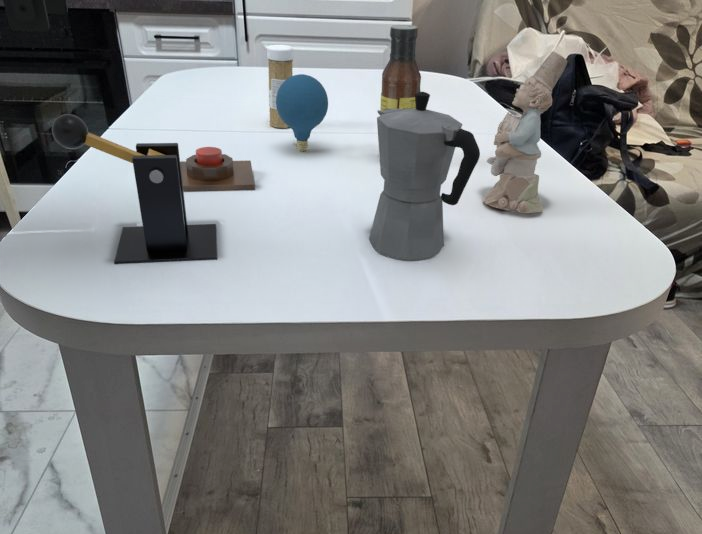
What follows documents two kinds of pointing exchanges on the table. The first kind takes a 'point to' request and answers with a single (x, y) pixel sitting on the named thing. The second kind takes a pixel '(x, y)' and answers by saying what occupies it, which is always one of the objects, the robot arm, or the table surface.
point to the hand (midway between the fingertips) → (41, 21)
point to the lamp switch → (163, 214)
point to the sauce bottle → (401, 70)
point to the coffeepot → (417, 178)
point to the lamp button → (209, 156)
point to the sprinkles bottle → (278, 77)
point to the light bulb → (302, 106)
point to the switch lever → (88, 138)
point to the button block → (217, 175)
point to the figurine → (523, 142)
